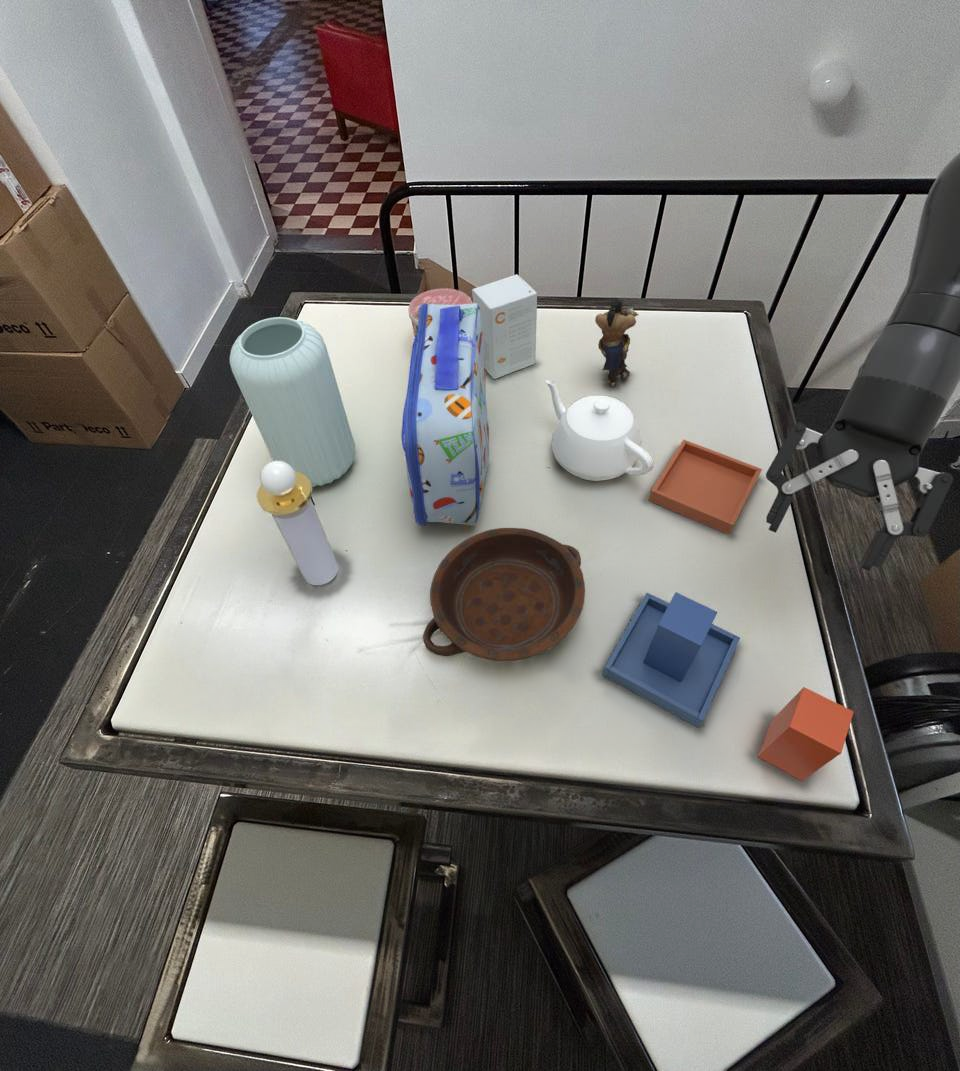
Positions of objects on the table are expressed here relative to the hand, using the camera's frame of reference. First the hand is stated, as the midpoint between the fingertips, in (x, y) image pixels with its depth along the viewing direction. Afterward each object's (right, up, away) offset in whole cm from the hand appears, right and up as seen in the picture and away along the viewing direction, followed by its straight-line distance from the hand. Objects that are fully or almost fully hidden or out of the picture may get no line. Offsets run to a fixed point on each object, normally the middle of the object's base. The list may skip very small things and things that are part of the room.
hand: (816, 549), depth 59 cm
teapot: (-16, +13, +30) cm, 36 cm away
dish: (-29, -8, +15) cm, 34 cm away
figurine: (-12, +26, +39) cm, 48 cm away
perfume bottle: (-53, -4, +20) cm, 56 cm away
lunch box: (-36, +11, +30) cm, 48 cm away
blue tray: (-11, -13, +10) cm, 20 cm away
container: (-38, +33, +46) cm, 69 cm away
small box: (-28, +30, +43) cm, 60 cm away
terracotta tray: (-2, +8, +25) cm, 26 cm away
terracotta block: (-1, -21, +4) cm, 21 cm away
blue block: (-11, -12, +10) cm, 19 cm away
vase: (-56, +11, +31) cm, 65 cm away
